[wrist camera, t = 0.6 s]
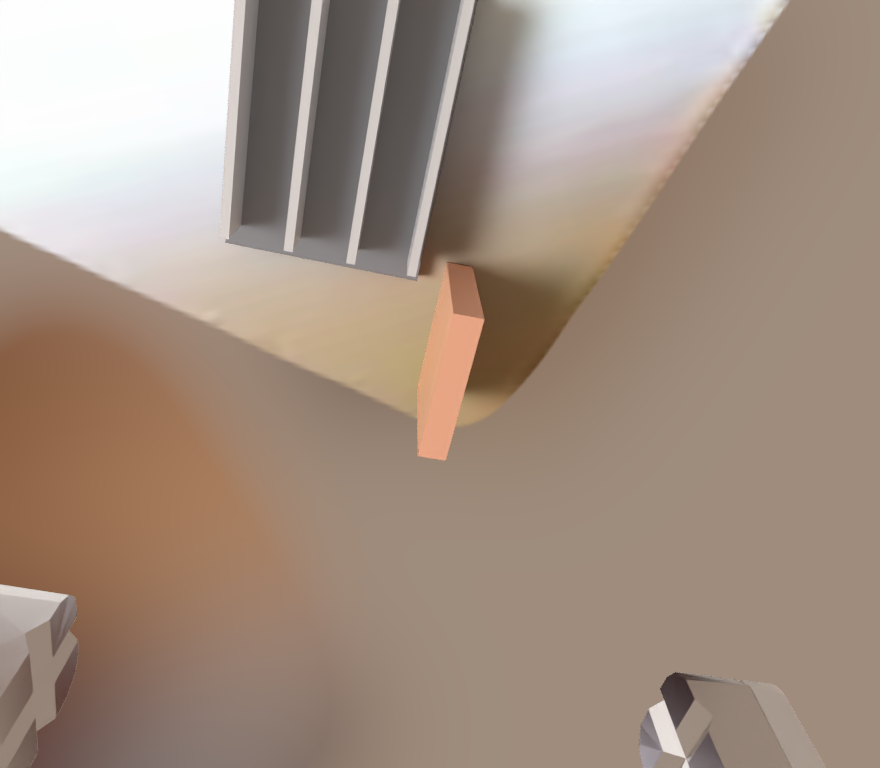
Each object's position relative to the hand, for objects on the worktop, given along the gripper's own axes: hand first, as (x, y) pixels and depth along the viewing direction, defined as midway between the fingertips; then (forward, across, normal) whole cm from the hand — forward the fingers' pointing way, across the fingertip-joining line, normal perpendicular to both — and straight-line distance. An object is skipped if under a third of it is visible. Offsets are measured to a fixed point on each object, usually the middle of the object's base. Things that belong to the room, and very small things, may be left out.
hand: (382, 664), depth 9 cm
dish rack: (+42, +5, -2) cm, 42 cm away
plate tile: (+42, -5, +12) cm, 44 cm away
